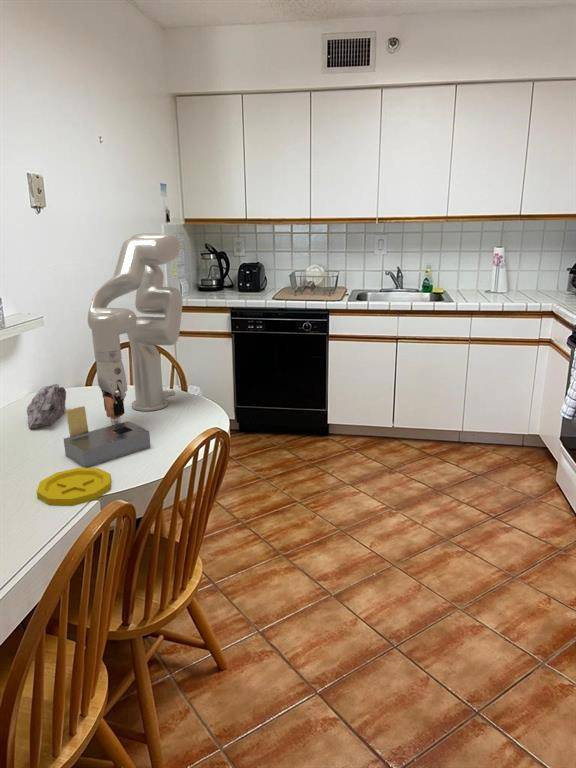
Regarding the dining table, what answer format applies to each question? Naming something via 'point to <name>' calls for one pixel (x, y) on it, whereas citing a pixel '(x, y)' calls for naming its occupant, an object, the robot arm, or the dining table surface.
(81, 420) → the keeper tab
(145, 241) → the robot arm
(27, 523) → the dining table surface
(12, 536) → the dining table surface
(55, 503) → the decorative disc
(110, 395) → the small bottle
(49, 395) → the rock
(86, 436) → the plate
